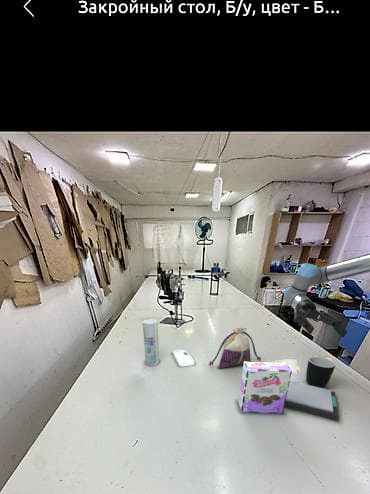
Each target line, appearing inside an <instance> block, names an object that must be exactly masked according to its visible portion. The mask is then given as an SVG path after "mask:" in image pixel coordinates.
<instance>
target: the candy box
mask: <svg viewBox="0 0 370 494" xmlns="http://www.w3.org/2000/svg"><path fill="white" fill-rule="evenodd" d="M242 365H243V366H242V371H241V378H240V387H239V392H238V399H237V402H238V405H239V410H240V413H249V414H250V413H252V414H257V413H258V414H283V413H284V409H285V407H284V405H285V400H286V396H287V391H288V387H289V382H290V381H291V377H292V373H293V370H292V369H291V367H289V365H288V364H287V362H270V361H269V362H268V361H266V362H265V361H251V362H246V361H244V364H242Z"/></svg>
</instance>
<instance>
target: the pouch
mask: <svg viewBox="0 0 370 494" xmlns="http://www.w3.org/2000/svg"><path fill="white" fill-rule="evenodd" d="M231 330H232V331H233V332H232V333H230V334H228V335H227V336H226V337H225V338H224V339H223V340H222V342H221V343H220V345H219V348H218V351H217V352H216V355H215V357H214V358H213V359H212V361H209V363H208V366H209V367H211V366H213V365H214V362H215V361H217V358H218V356H219V354H220V352H221V354H220V358H219V361H218V365H217V368H218V369H223V368H229V367H236V366H240V365H243V364H244V361H246V362H252V360H251V359H252V358H251V345H252V351H253V354H254V356H255V357H256V360H257V361H258V362H262V358H261V356H258V354H257V352H256V347H255V343H254V340H253V338H252V337H251V335H250V334H249V333H248V332H246V331H247V327H237V328H236V329H231ZM250 342H251V345H250ZM221 350H222V351H221Z"/></svg>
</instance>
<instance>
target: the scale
mask: <svg viewBox="0 0 370 494" xmlns="http://www.w3.org/2000/svg"><path fill="white" fill-rule="evenodd" d="M284 408H288V409H291V410H295V411H299V412H302V413H306V414H310V415H314V416H317V417H320V418H323V419H327V420H331V421H335V422H337V421H338V419H339V412H338V404H337V398H336V391H334V390H331V389H327V388H319V387H314V386H310V385H308V384H305V383H301V382H297V381H292V380H290V382H289V387H288V391H287V396H286V400H285V405H284Z"/></svg>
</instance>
